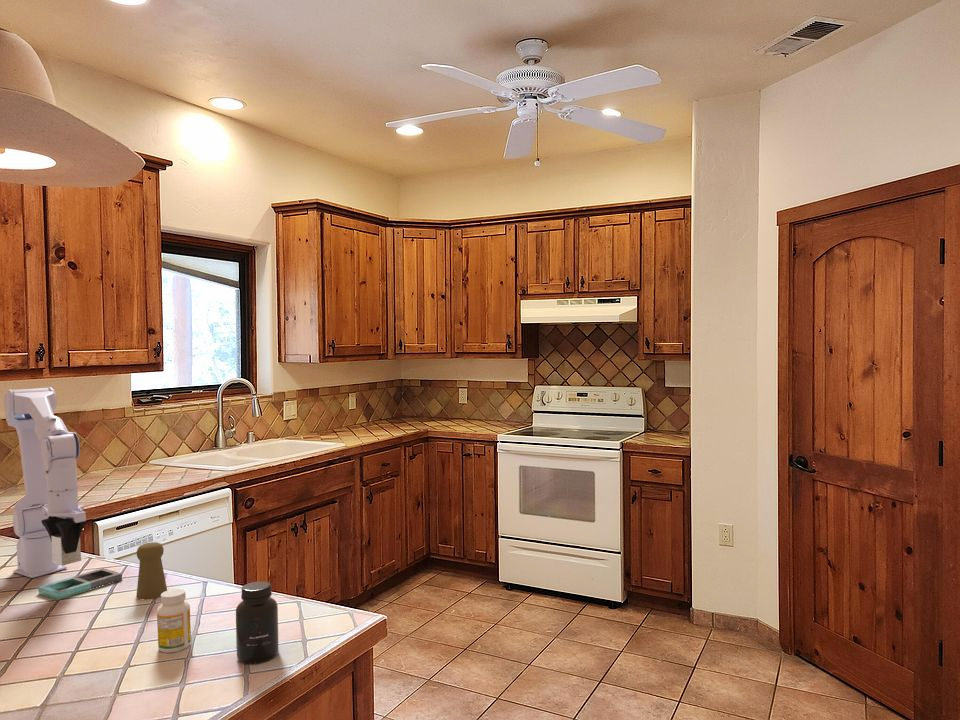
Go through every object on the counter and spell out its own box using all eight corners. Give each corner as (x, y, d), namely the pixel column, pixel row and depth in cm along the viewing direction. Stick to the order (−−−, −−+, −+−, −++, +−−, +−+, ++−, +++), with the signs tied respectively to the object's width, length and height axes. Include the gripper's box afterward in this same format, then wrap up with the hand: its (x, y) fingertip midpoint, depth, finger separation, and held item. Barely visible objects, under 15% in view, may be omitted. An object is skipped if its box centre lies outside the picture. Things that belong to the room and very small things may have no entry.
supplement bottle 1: (174, 655, 118) (172, 600, 118) (151, 651, 120) (148, 596, 120) (198, 642, 123) (196, 589, 123) (175, 638, 125) (173, 585, 125)
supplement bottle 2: (255, 668, 112) (252, 596, 112) (228, 659, 116) (225, 588, 115) (287, 651, 118) (285, 582, 118) (260, 643, 122) (258, 576, 121)
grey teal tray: (38, 593, 150) (38, 586, 150) (103, 574, 162) (102, 568, 162) (57, 600, 146) (57, 593, 146) (122, 579, 157) (121, 573, 157)
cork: (136, 592, 149) (134, 542, 149) (167, 587, 152) (165, 538, 151) (135, 601, 143) (133, 549, 143) (167, 596, 146) (165, 545, 146)
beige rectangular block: (52, 563, 150) (51, 535, 150) (71, 557, 154) (70, 531, 154) (62, 565, 148) (60, 538, 148) (81, 560, 152) (79, 533, 151)
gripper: (98, 488, 150) (101, 550, 150) (64, 482, 158) (67, 541, 158) (65, 495, 144) (68, 559, 144) (30, 489, 152) (33, 550, 152)
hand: (65, 550), depth 151 cm, fingers closed on beige rectangular block, 4 cm apart
